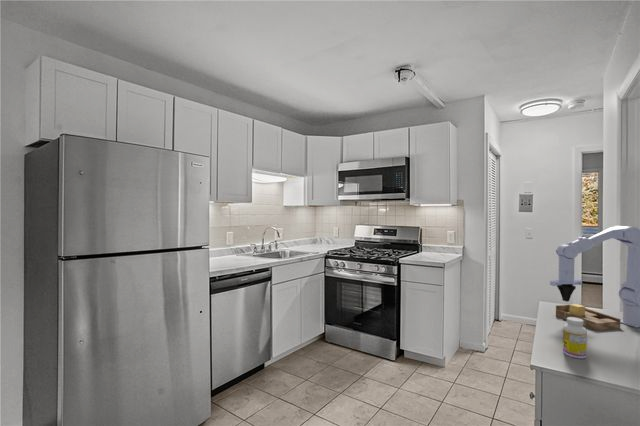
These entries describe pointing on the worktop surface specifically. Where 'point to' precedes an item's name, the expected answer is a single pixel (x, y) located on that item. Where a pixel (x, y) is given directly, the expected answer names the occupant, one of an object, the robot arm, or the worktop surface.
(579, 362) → the worktop surface
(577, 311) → the ochre block
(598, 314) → the box
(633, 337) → the worktop surface
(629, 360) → the worktop surface
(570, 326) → the supplement bottle
